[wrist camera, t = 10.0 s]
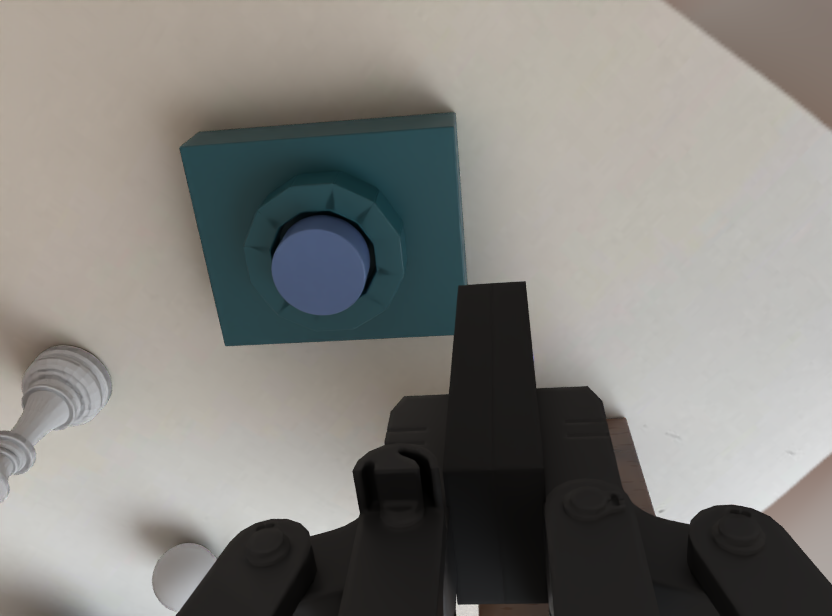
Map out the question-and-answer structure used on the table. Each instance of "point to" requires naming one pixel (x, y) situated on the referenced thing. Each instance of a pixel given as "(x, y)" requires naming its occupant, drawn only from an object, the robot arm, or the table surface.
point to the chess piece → (52, 404)
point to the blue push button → (321, 265)
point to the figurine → (180, 573)
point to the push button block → (340, 197)
